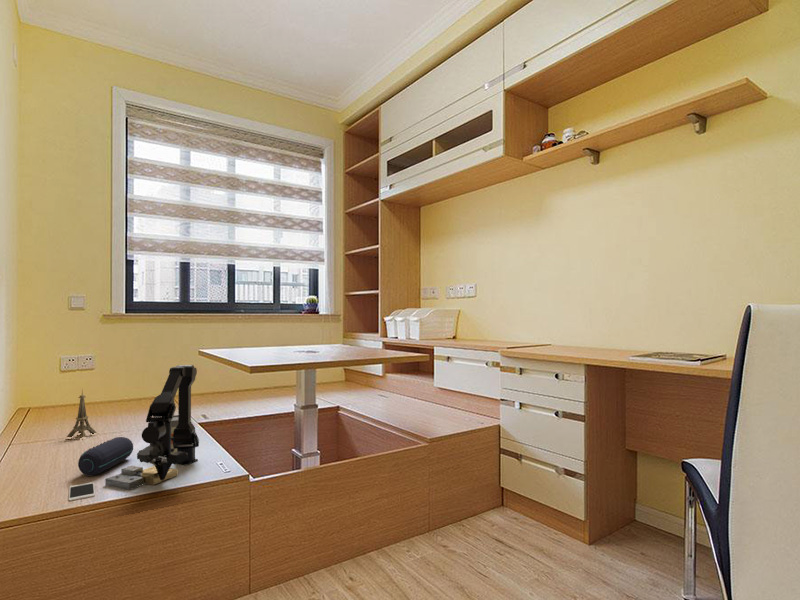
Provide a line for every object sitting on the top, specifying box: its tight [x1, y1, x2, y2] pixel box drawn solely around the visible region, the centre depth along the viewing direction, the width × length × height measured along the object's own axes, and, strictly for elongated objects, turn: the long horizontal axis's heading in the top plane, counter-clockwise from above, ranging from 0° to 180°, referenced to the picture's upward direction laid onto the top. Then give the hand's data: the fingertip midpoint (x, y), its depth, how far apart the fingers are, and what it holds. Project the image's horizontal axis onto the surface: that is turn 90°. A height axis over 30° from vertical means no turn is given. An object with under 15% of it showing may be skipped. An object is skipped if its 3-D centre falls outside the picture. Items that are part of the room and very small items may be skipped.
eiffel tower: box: [66, 389, 98, 438], centre depth 235 cm, size 11×11×25 cm
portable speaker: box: [77, 436, 134, 477], centre depth 185 cm, size 25×10×10 cm, turn 2°
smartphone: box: [68, 482, 96, 502], centre depth 159 cm, size 7×15×1 cm, turn 35°
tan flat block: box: [136, 465, 179, 485], centre depth 172 cm, size 10×12×4 cm
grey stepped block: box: [104, 465, 145, 491], centre depth 167 cm, size 10×12×4 cm
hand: (162, 479), depth 166 cm, fingers closed
